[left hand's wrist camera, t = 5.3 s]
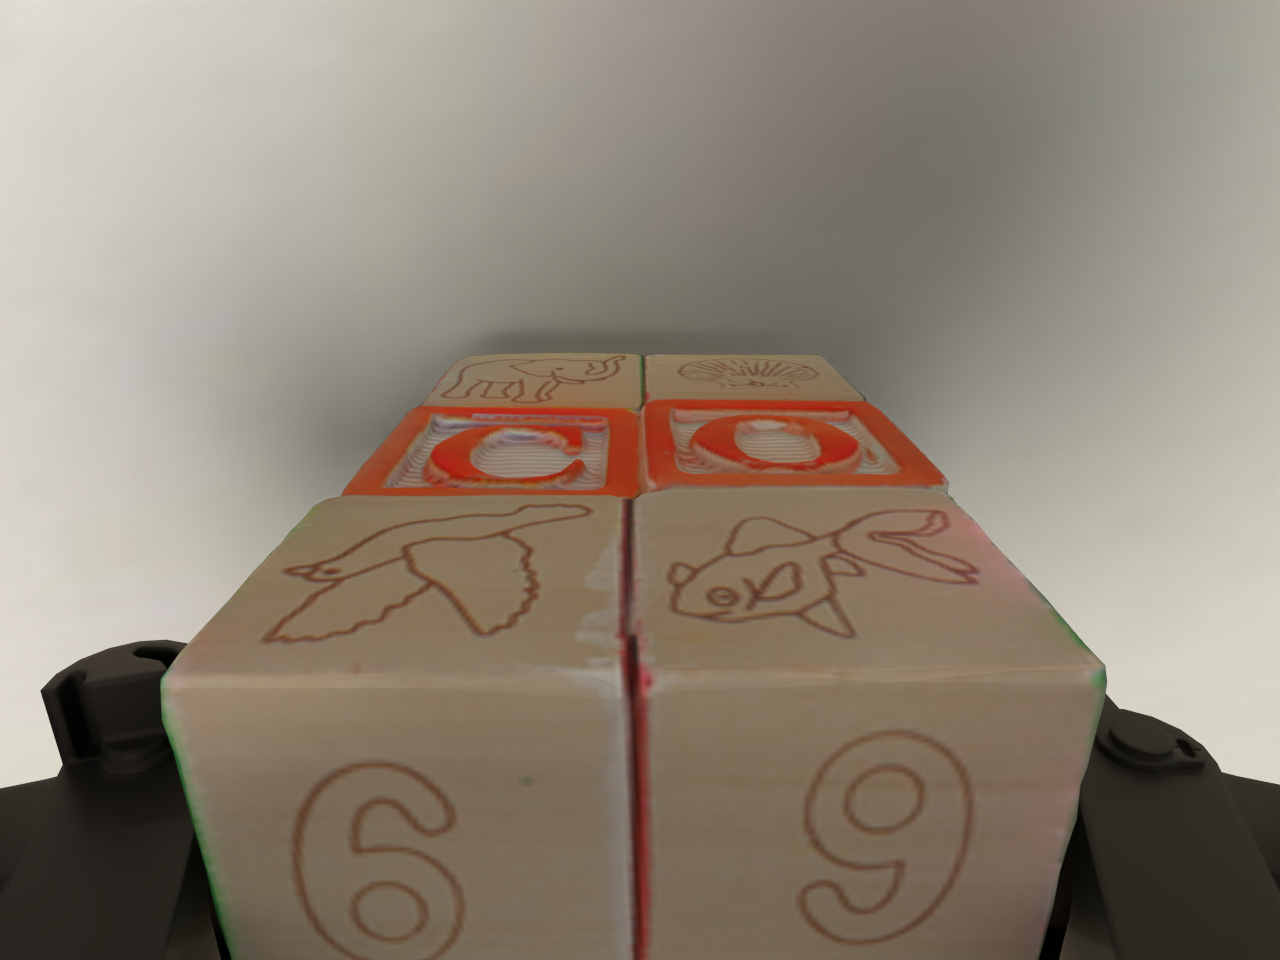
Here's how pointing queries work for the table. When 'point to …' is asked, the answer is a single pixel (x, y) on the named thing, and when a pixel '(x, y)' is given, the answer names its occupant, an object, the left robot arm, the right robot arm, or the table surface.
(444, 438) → the stack of blocks
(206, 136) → the table surface
